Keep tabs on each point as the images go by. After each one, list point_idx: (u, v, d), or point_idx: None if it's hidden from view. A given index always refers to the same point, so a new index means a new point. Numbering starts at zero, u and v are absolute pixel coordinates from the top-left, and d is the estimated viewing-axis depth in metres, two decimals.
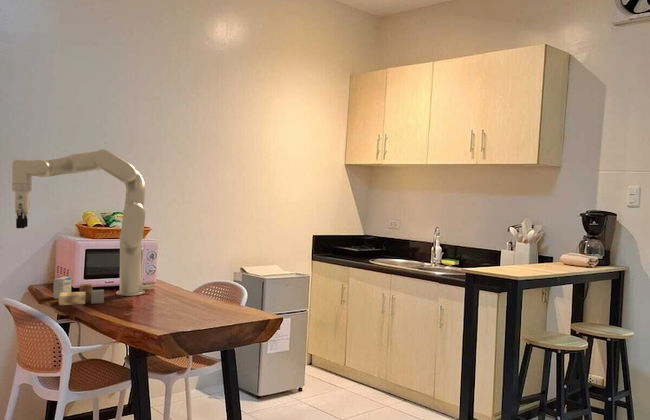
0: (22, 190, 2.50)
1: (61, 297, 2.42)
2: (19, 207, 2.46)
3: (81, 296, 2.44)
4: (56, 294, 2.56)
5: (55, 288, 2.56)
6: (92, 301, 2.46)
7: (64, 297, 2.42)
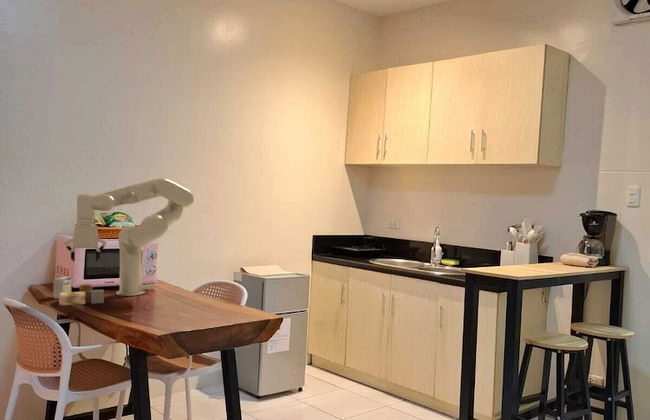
0: (94, 224, 2.60)
1: (61, 297, 2.42)
2: None
3: (81, 296, 2.45)
4: (56, 293, 2.56)
5: (55, 288, 2.56)
6: (92, 301, 2.46)
7: (64, 297, 2.42)
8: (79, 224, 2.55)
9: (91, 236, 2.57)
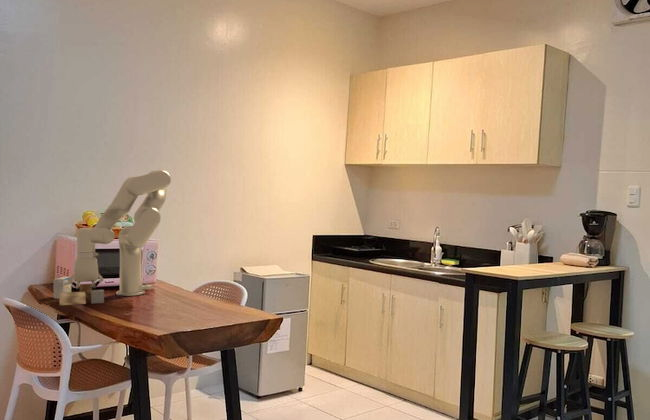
0: (94, 257, 2.60)
1: (62, 297, 2.42)
2: (101, 276, 2.61)
3: (82, 296, 2.45)
4: (56, 293, 2.56)
5: (55, 288, 2.56)
6: (92, 301, 2.46)
7: (65, 297, 2.42)
8: (79, 258, 2.55)
9: (91, 270, 2.57)
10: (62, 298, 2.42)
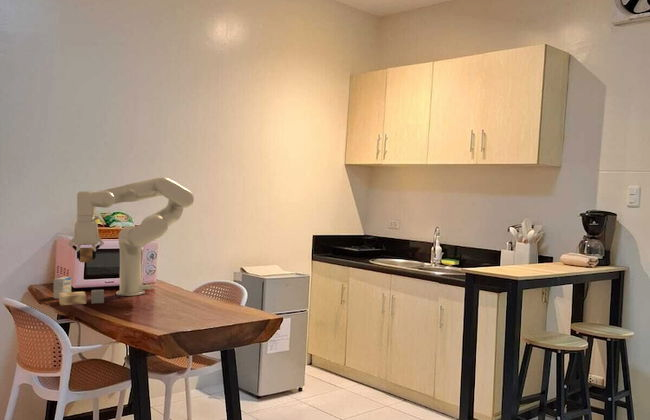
0: None
1: (62, 297, 2.41)
2: None
3: (82, 296, 2.45)
4: (56, 293, 2.56)
5: (55, 288, 2.56)
6: (92, 301, 2.46)
7: (65, 297, 2.42)
8: (79, 221, 2.55)
9: (92, 233, 2.57)
10: (63, 298, 2.42)
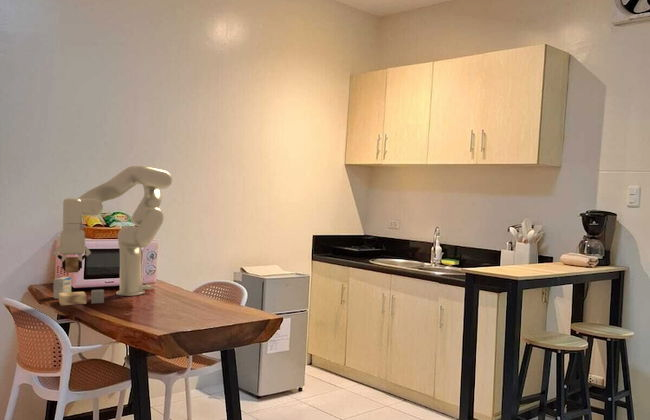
0: None
1: (63, 297, 2.41)
2: (88, 250, 2.49)
3: (83, 296, 2.45)
4: (56, 293, 2.56)
5: (55, 288, 2.56)
6: (92, 301, 2.46)
7: (66, 297, 2.42)
8: (65, 229, 2.44)
9: (78, 242, 2.46)
10: (63, 298, 2.42)
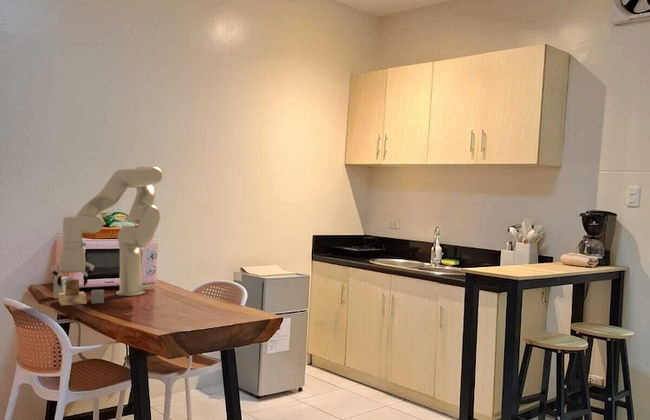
0: None
1: (63, 297, 2.41)
2: (91, 264, 2.50)
3: (83, 296, 2.45)
4: (56, 293, 2.56)
5: (55, 288, 2.56)
6: (92, 301, 2.46)
7: (66, 297, 2.42)
8: (65, 248, 2.44)
9: (78, 260, 2.46)
10: (63, 298, 2.42)
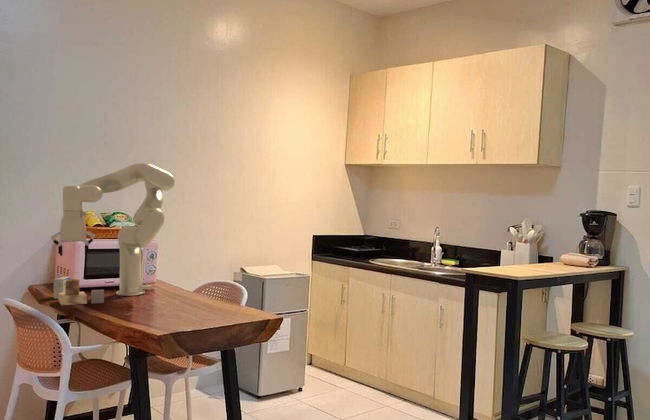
0: None
1: (63, 297, 2.42)
2: None
3: (83, 296, 2.45)
4: (56, 293, 2.56)
5: (55, 288, 2.56)
6: (92, 301, 2.46)
7: (66, 297, 2.42)
8: (66, 217, 2.44)
9: (79, 229, 2.46)
10: (63, 298, 2.42)
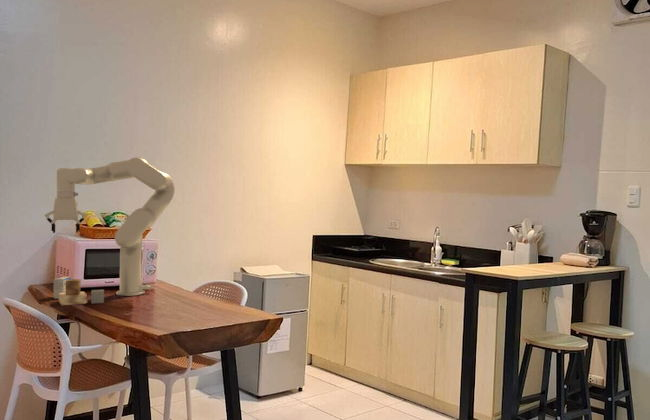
0: (74, 197, 2.69)
1: (63, 297, 2.42)
2: (83, 213, 2.70)
3: (83, 296, 2.46)
4: (56, 293, 2.56)
5: (55, 288, 2.56)
6: (92, 301, 2.46)
7: (66, 297, 2.42)
8: (59, 197, 2.63)
9: (71, 208, 2.66)
10: (64, 298, 2.42)
